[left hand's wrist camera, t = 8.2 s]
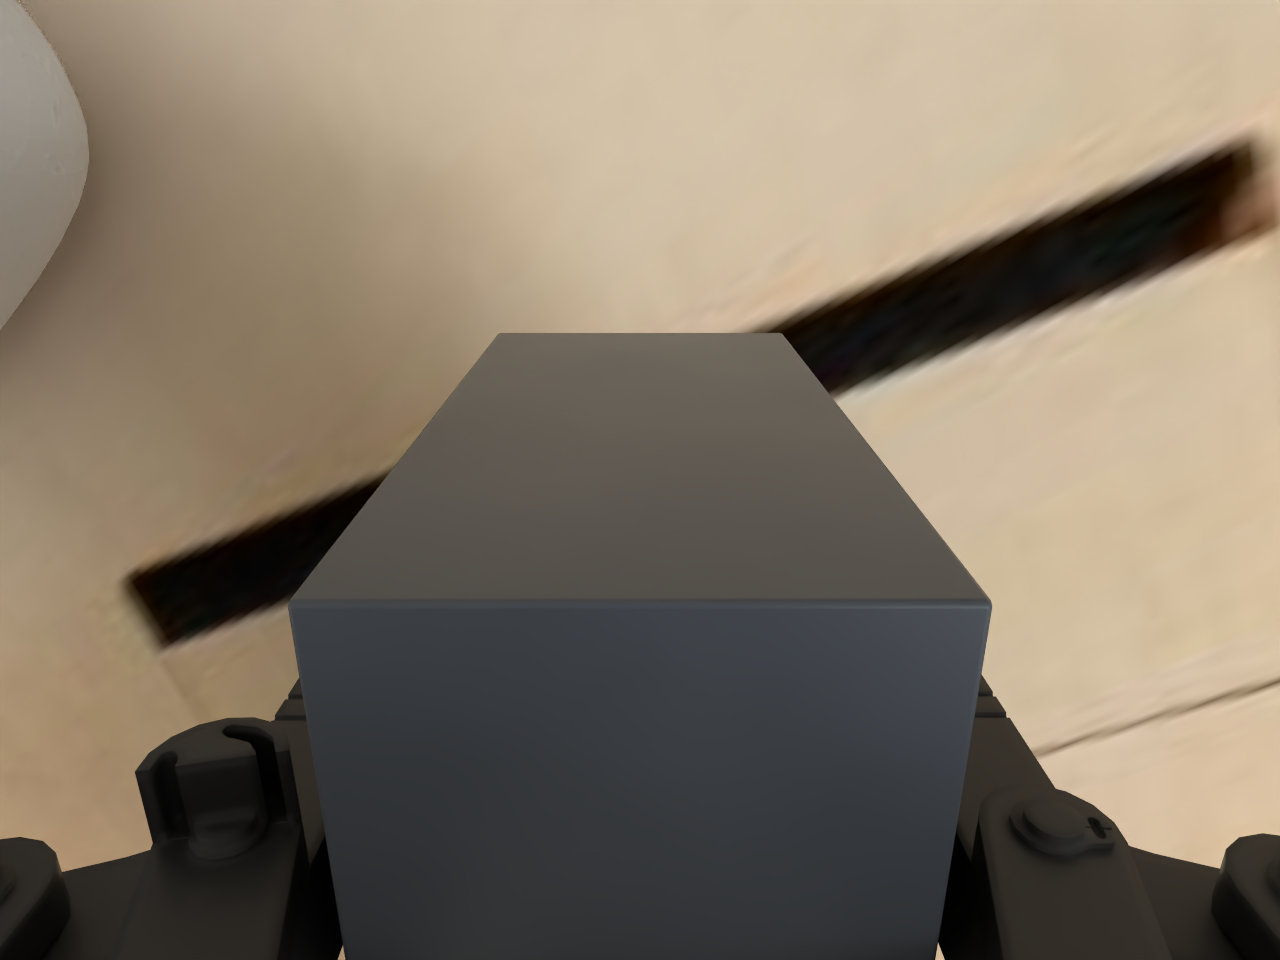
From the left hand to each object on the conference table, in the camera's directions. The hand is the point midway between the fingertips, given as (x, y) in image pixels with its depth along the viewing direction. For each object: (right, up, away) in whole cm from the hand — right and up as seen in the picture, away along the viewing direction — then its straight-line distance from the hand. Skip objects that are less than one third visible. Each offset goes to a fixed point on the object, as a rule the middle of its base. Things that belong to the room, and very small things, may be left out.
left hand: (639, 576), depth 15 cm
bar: (0, -6, +3) cm, 7 cm away
